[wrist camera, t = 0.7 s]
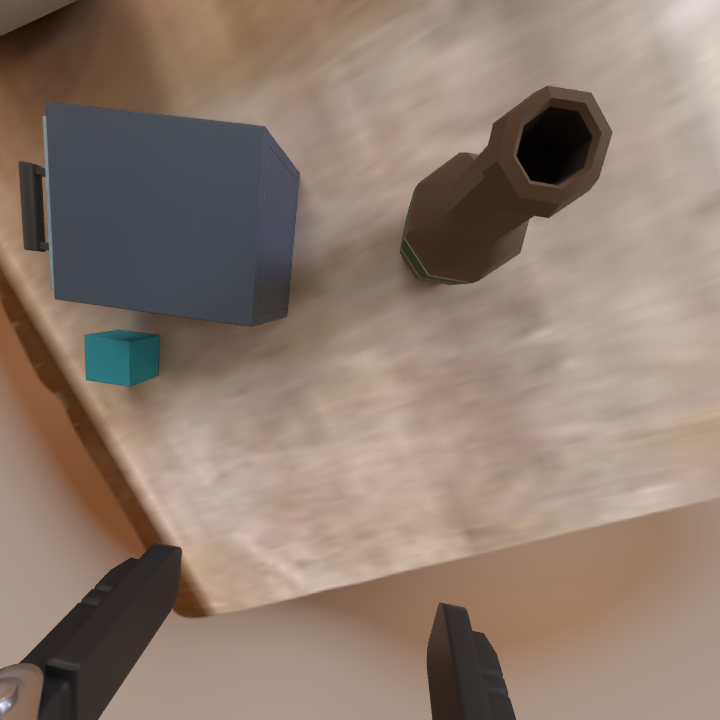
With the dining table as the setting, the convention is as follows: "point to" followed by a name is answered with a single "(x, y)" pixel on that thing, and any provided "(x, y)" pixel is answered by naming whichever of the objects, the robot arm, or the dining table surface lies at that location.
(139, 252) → the cabinet
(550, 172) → the beer bottle
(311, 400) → the dining table surface
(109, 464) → the dining table surface
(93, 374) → the teal cube block
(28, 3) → the grey rounded piece
